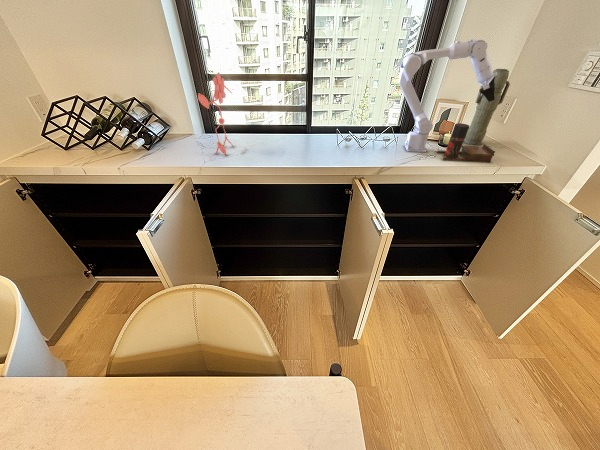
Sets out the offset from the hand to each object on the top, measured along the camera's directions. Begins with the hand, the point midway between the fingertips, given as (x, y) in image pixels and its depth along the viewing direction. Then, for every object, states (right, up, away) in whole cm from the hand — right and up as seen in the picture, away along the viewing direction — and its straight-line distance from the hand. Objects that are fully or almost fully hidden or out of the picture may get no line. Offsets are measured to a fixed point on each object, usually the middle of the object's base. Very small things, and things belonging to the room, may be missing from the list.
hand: (491, 96), depth 116 cm
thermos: (+9, -12, +27) cm, 31 cm away
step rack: (-7, -25, +10) cm, 28 cm away
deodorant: (-13, -25, +11) cm, 29 cm away
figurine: (-122, -20, +16) cm, 125 cm away
